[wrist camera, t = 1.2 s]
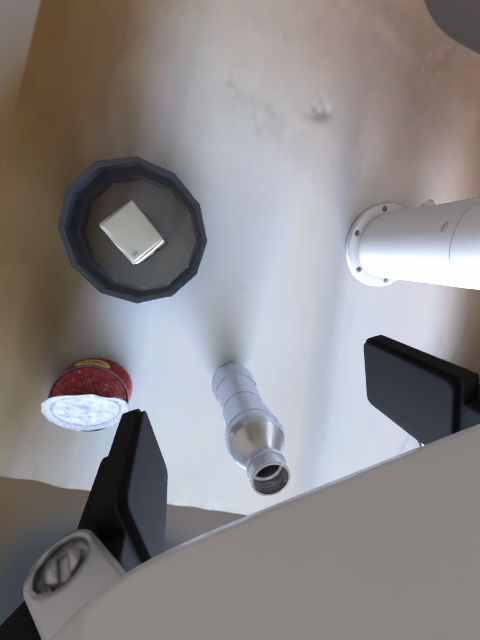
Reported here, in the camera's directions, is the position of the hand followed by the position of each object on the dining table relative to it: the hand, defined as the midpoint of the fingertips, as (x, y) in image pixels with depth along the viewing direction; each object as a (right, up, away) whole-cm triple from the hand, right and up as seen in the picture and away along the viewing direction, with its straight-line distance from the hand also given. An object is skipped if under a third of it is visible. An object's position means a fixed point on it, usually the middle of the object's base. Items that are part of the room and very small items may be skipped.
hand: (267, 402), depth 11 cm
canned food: (-22, -7, +28) cm, 36 cm away
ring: (-14, +14, +24) cm, 31 cm away
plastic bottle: (-3, -6, +32) cm, 33 cm away
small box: (-14, +14, +24) cm, 31 cm away
